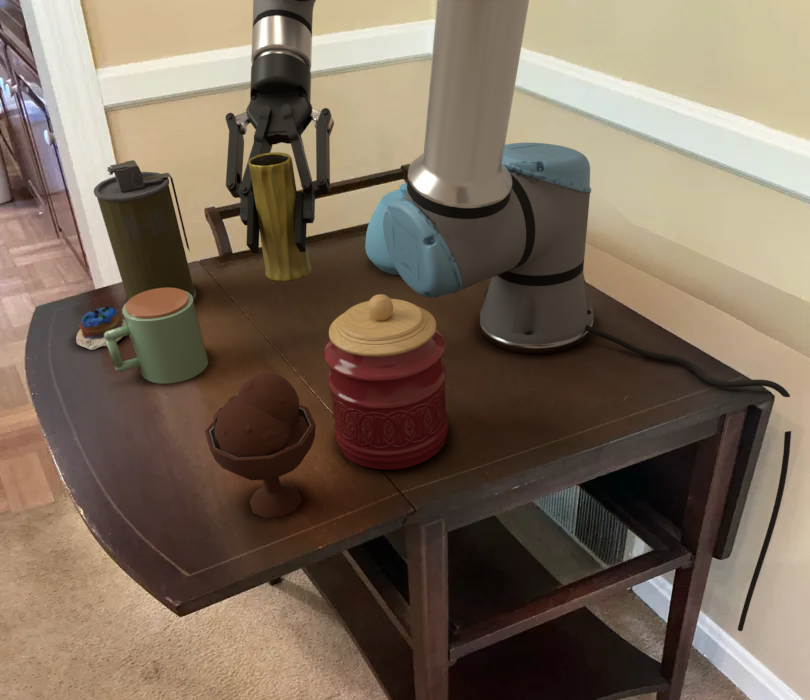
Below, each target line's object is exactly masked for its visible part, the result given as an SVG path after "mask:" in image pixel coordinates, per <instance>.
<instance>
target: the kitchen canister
mask: <svg viewBox="0 0 810 700" xmlns="http://www.w3.org/2000/svg"><path fill="white" fill-rule="evenodd" d="M328 337H329V340H328V341H327V342H326V344H325V346H324V350H323V358H324V362H325V363H326V365H327V366H328V367H329V369H330V371H329V373H328V376H327V385H328V388H329V391H330V394H331V395H330V396H331V402H332V409H333V415H334V433H335V439H336V441H337V443H338V445H339V448H340V451H341V453H342V454H343V455H344V456H345V457H346V458H347V459H348V460H350V461H351V462H352V463H355V464H357V465H360V466H362V467H365V468H368V469H374V470H385V471H386V470H387V471H388V470H400V469H406V468H411V467H414V466H417V465H420V464H422V463H424V462H427V461H428V460H430V459H431V458H432V457H434V456H435V455H437V454H438V453H439V452H440V451H441V449H443V447H444V446H445V443H446V440H447V434H448V431H449V415H448V412H447V398H446V378H447V369H446V366H445V364H444V362H443V361H442V358H443V355H444V353H445V352H446V341H445V338H444V337H443V335H442V334H441V333H440V332H439V330H437V321H436V318H435V317H434V316H433V314H431V312H429V311H428V310H426V309H424V308H422V307H420V306H418V305H416V304H415V303H413V302H410V301H407V300H403V299H396V298H390V297H389V296H388V295H386V294H382V293H381V294H380V293H379V294H378V293H377V294H376V295H372V296H371V298H370V299H369V300H366V301H362V302H360V303H358V304H355V305H353V306H350V308H348V309H347V310H346V311H345V312H344V313H342V314H340V315H339V316H337V318H335V319H334V320H333V321H332V323H331V324H330V326H329V328H328Z"/></svg>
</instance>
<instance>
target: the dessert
mask: <svg viewBox="0 0 810 700" xmlns="http://www.w3.org/2000/svg"><path fill="white" fill-rule="evenodd" d="M123 326H126V322H125V319H123V317H122V315H121V314H120V312H119V310H118V309H115V308H114V307H110V306H108V305H106V306H103V307H100V308H96V307H95V308H94V307H93V306H91V310H89V311H88V312H86V313H85V314H84V315H83V316H82V317H81V318H80V321H79V328H80V329H79V330H78V331H77V333H76V337H75V343H76V344H77V346H80V347H82V348H86V349H87V350H92V351H95V350H97V349H99V348H102V347H108V346H107V343H106V340H105V337H104V333H105V332H106V331H109V330H112V329H116V328H119V327H123ZM121 339H123V337H120V338H117V339H115V340H116V343H118V342H119V341H120V340H121Z"/></svg>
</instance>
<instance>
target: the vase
mask: <svg viewBox="0 0 810 700" xmlns="http://www.w3.org/2000/svg"><path fill="white" fill-rule="evenodd" d="M248 159H249V158H248ZM247 163H248V164H249V170H250V175H251V180H252V185H253V191H254V198H255V204H256V210H257V216H258V222H259V238H260V243H261V251H262V257H263V261H264V262H263V263H264V270H265V271H264V273H265V274H264V275H265V277H266V278H268V279H269V280H271V281H273V282H281V283H282V282H283V283H287V282H294V281H297V280H301V279H303V278H305V277H306V276H308V275H309V274H311V271H312V269H313V267H312V264H311V260H310V255H309V251H308V246H307V245H308V244H306V252H300V251H299V249H298V248H297V246H296V244H295V213H296V192H298V190H297V185H296V178H295V171H294V170H295V169H294V163H293V158H292V156H291V155H290V154H288V153H285V152H278V151H277V152H274V151H273V152H270V153H264V154H260V155H257V156H255V157H252V158H251V159H249V161H248V160H247Z"/></svg>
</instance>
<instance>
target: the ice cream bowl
mask: <svg viewBox="0 0 810 700" xmlns="http://www.w3.org/2000/svg"><path fill="white" fill-rule="evenodd" d="M316 426H317V425H316V423H315V420H314V418H313V416H312V413H311V412H310V409H309V407H308V406H306V405H302V404H300V398H299V396H298V393H297V391H296V389H295V388H294V386H293V385H292V384H291V383H290V382H289V381H288V380H287V378H286V377H284V376H281V375H280V374H277V373H274V372H267V371H262V372H260V373H256V374H254V375H252V376H250V377H249V378H247V379H246V380H245V381H243V382H242V384H241V385H240V387H239V388H238V390H237V395H233V396H230V398H228V400H227V401H226V402H225V403H224V404H223V406H221V407H220V408H219V409H218V410H217V411H216V412H215V413H214V414H213V420H212V422H211V423H210V424H209V426H208V427H207V428H206V429H205V430H204V433H205V438H206V441H207V444H208V448H209V451H210V453H211V455H212V457H213V459H214V460H215V462H216V463H217V464H218V465H219V466H220V468H222V469H223V470H225V471H229V472H231V473H233V474H234V475H238V476H239V477H242V478H245V479H247V480H249V481H262V482H263V486H262V487H259V488H258V489H256V490H255V492H254V493H253V495H252V496H251V498H250V500H249V504H250V507H251V510H252V513H253V514H256V515H257V516H259V517H262V518H264V519H265V518H266V519H269V518H270V519H271V518H282V517H284V516H287V515H288V514H290V513H292V512H295V511H296V510H297V508H298V507H299V506H300V504H301V502H302V497H301V495H300V493H299V490H298V488H297V487H296V486H293V485H291V484H289V483H286V482H281V480H280V477H282V476H284V475H287V474H289V473H291V472H293V471H294V470H295V469H296V468H297V467H298V466H300V465H301V464H302V461H304V459H305V457H306V456H307V454H308V452H310V450H311V448H312V447H313V444H314V440H315V438H316V429H317V428H316Z"/></svg>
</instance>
